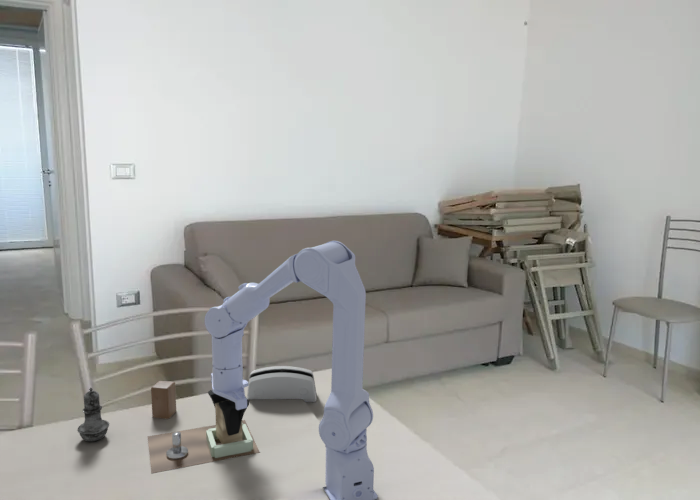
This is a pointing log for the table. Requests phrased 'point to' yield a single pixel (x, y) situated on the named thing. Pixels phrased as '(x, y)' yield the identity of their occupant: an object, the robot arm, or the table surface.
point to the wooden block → (163, 399)
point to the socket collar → (229, 444)
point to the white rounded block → (282, 383)
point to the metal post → (176, 448)
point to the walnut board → (194, 444)
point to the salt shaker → (92, 418)
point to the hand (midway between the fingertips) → (229, 428)
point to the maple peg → (221, 428)
